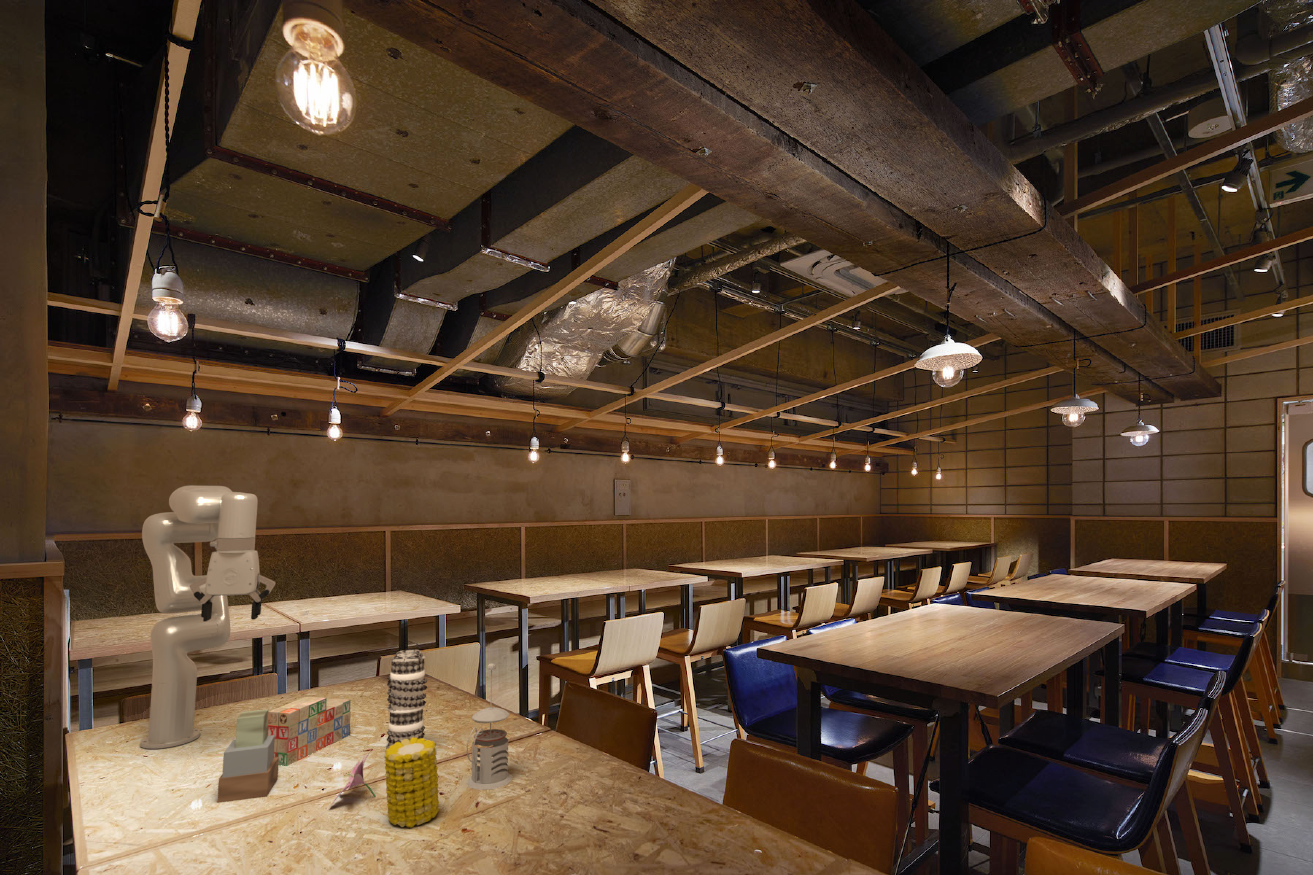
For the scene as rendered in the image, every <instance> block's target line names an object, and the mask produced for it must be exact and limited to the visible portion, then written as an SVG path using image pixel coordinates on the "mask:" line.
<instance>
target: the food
mask: <svg viewBox="0 0 1313 875" xmlns="http://www.w3.org/2000/svg"><path fill="white" fill-rule="evenodd" d="M385 749H386V748H385ZM436 749H437V748H436V743H435V741H434V740H430V739H427V740H426V739H425V738H424V737H423V738H420V739H417V738H414V737H412V738H411V739H410V740H409V739H404V740H403V741H401V743H400V742H396V743H395V744H394V745H391V746H390V747H389V749H386V750H385V755H384V758H385V759H384V764H385V766H384V768H385V774H384V776H385V777H386V778H384V780H385V785H386V789H385V793H386V803H387V816H388V817H387V818H388V822H389V823H391V824H392V825H393V826H396V825H398V826H400V827H401V828H403V827H405V826H406V828H410V829H412V828H413V827H414V826H420V825H422V824H424V823H426V822H427V823H428V822H429V821H431V819H434V818H436V816H437V814H438V813H439V810H440V807H439V805H440V801H439V783H438V782H439V775H438V768H439V767H438V766H437V765H438V763H437V761H438V760H437V759H438V758H437V756H436V754H437V751H436Z"/></svg>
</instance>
